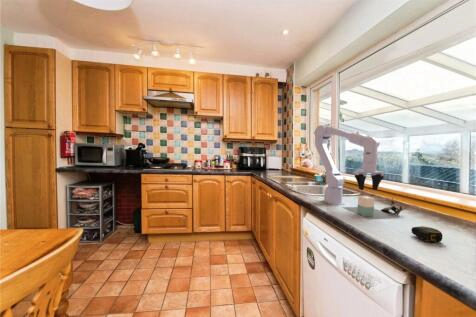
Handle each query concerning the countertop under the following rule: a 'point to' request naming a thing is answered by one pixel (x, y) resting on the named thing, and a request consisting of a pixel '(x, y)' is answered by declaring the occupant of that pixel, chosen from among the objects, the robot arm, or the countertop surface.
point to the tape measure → (427, 234)
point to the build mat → (376, 214)
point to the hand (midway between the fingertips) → (368, 189)
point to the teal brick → (365, 210)
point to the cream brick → (366, 201)
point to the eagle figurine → (394, 208)
